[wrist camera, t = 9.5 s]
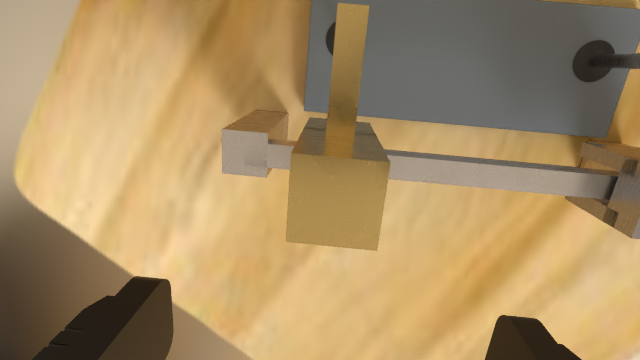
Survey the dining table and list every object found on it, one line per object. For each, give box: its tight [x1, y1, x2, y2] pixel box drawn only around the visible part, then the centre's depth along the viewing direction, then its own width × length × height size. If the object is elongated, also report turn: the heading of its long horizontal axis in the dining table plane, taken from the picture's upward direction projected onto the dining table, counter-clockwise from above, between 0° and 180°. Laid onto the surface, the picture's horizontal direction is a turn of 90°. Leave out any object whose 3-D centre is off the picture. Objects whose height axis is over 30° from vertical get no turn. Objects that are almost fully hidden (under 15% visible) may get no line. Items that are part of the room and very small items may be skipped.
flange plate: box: [304, 0, 640, 138], centre depth 29 cm, size 10×26×1 cm, turn 85°
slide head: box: [286, 3, 391, 251], centre depth 22 cm, size 11×4×15 cm, turn 175°
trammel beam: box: [222, 53, 640, 239], centre depth 25 cm, size 11×33×12 cm, turn 85°
